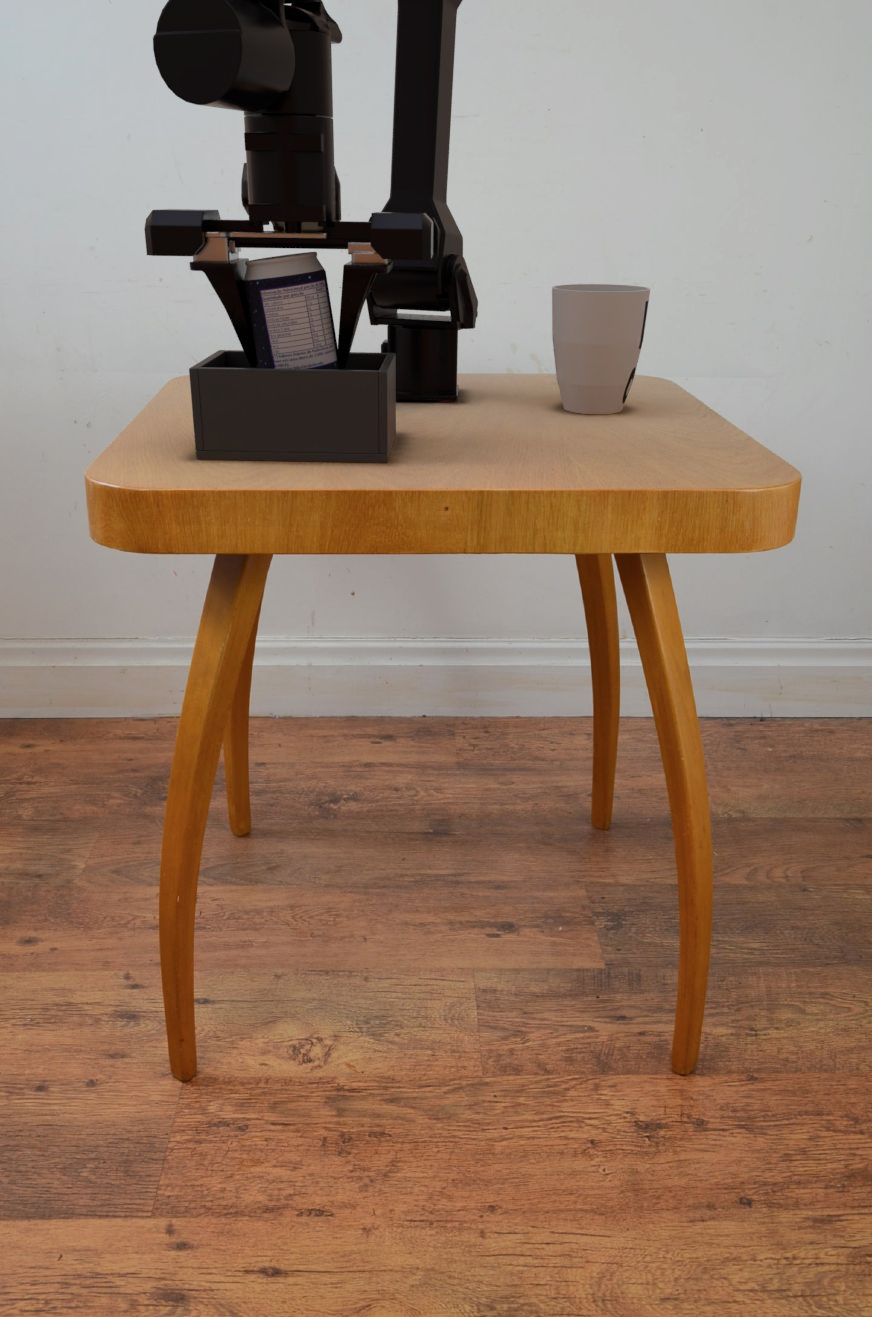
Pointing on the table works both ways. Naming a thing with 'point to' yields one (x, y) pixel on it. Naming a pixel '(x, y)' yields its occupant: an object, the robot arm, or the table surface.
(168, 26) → the robot arm
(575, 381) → the cup
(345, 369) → the open storage box
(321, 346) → the beverage can
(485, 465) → the table surface
